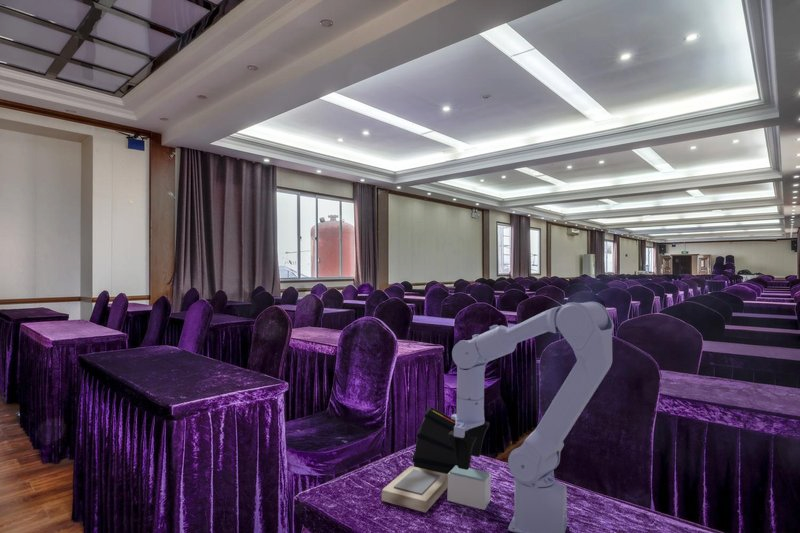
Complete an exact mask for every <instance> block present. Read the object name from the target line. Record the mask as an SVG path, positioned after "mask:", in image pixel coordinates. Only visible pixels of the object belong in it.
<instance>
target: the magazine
mask: <svg viewBox="0 0 800 533" xmlns="http://www.w3.org/2000/svg"><path fill="white" fill-rule="evenodd" d="M422 419H423V420H422V421H421V425H420V428H418V429H417V435H416V437H417V439H416V443H415V449H414V451H413V455H412V462H413V467H418V468H422V469H427V470H431V471H436V472H440V473H445V474H448V473H449V472H450V471H451V470H452V469H453V468H454V467H455V466H456V465H457V460H456V455H455V451H454V448H453V445H452V443H451V441H450V439H449V437H448V433H449V432H450V431H454V426H455V425H456V423H455V420H452V419H451V416H449V415H447V414H445V413H443V412H441V411H439V410H437V409H435V408H434V407H432V406H429V407H428V409H426V410H425V412H424V418H422ZM457 466H458V465H457Z"/></svg>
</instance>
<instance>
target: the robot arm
mask: <svg viewBox="0 0 800 533" xmlns="http://www.w3.org/2000/svg"><path fill="white" fill-rule="evenodd" d="M614 328H615V324H614V322H613V320H612V318H611V315H610V313H609V311H608V309H607V308H606V307H605V306H604V305H603V304H601V303H600V302H597V301H587V302H586V301H585V302H567V303H566V304H563V305H562V306H561V305H560V306H556V307H552V308H550V309H547V310H545V311H542V312H540V313H538V314H536V315H534V316H532V317H530V318H528V319H526V320H524V321H522V322H520V323H517V324H516V325H513V326H512V327H509V326H506V325H501V324H500V325H498V324H493V325H491V326H489V330H487V331H485V332H483V333H481V334H479V333H476V334H473V335H472V336H471V337H472V338H471V339H468V340H465V339H462V340H459V341H458V342H457V343H455V345H453V348H452V351H451V357H452V360H453V363H454V364H455V365H456V366H457V367H456V370H457V371H456V413H452V414H451V415H450V417H451V419H452V420H455V423H456V425H455V426H454V431H450V432H449V433H448V437H449V439H450V441H451V443H452V445H453V448H454V451H455V455H456V460H457V465H458V468H460V469H465V470H468V469H469V468H470V465H471V461H472V459H471V458H472V457H477V458H479V457H480V455H481V454H482V448H483V443H484V439H485V435H486V432H487V431H488V429H489V427H490V422H489V421H487V420H486V419H485V409H484V408H485V372H486V366H487V365H488V363H489V362H491V361H494V360H496V359H498V358H501V357H504V356H506V355H509V354H511V353H514V351H516V350H515V349H516V348H517V344H518V343H522V342H523V341H526V340H529V339H532V338H534V337H537V336H540V335H543V334H545V333H553V334H561V335H562V337H563V338H564V339H565V340H566V342H567V343H568V344H569V346H570V348H572V350H573V353H574V355H575V358H576V362H575V364H574V365H573V367H572V369H571V371H569V374H568V375H567V377H566V379H564V382H563V384H562V385H561V387H560V388H559V390H558V391H557V393H556V395H555V396H554V398H553V399H552V401H551V403H550V405H549V407H547V410H546V411H545V413H544V415H543V416H542V417H541V419H540V422H539V423H538V425H537V426H536V428H535V429H534V430H533V431H532V432H531V433H530V434H529V435H527V437H526V438H525V439H524V441H523V442H522V444H521V445H520V446H519V447H516V448H514V449H512V450H511V452H510V453H509V455H508V459H507V463H508V465H507V466H508V468H509V471H510V474H511V475H512V477H513V479H514V496H513V497H514V498H513V499H514V500H513V501H514V502H513V504H514V506H513V507H514V508H513V512H514V514H513V517H512V519H511V521H510V523H509V525H508V527H507V529H508V531H510V532H513V533H566V530H567V528H568V516H567V512H568V511H567V510H568V508H567V507H568V505H567V504H568V488H567V485H566V484H563V483H560V482H558V481H557V480H555V474H554V473H555V472H554V470H555V469H557V467H558V466H559V464H560V461H561V452H562V450H563V448H564V446H565V443H564V440H565V439H566V438H567V436H568V434H569V433H570V431H571V430H572V428H573V426H574V425H575V424H576V421H578V419H579V417H580V416H581V414H582V412H583V411H584V409H585V407H587V404H588V403H589V402H590V400H591V398H592V397H593V396H594V394H595V392H596V390H598V388H599V387H600V386H599V385H600V384H601V383H602V381H603V380H604V378H605V376H606V375H607V374H608V372H609V370H610V368H611V366H612V364H613V332H614Z"/></svg>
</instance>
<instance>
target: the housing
mask: <svg viewBox="0 0 800 533" xmlns="http://www.w3.org/2000/svg"><path fill="white" fill-rule="evenodd" d="M491 483H492V474H491V473H490V472H489V471H485V470H481V469H480V470H479V469H474V468H470V467H469V469H468V470H465V469H460V468H458V466H457V465H456V466H455V467H454V468H453V469H452V470H451V471H450V472H449V473H448V488H447V492H446V494H447V497H446V498H447V499H446V500H447V502H452V503H456V504H460V505H463V506H469V507H471V508H476V509H479V510H486V509H487V507H488V505H489V503H490V502H491V492H492V491H491V488H492V486H491Z"/></svg>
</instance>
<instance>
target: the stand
mask: <svg viewBox="0 0 800 533" xmlns="http://www.w3.org/2000/svg"><path fill="white" fill-rule="evenodd" d="M446 490H448V474H445V473H440V472H436V471H431V470H427V469H422V468H418V467H414V465H413V466H412V465H410V466H409V467H407V468H406V469H405V470H404V471H402V472H401V473H400V474H399V475H398V476H397V477H395V478H394V479H393V480H392V481H390V483H388V484H387V485H386V486H385V487H383V488H382V489H381V502H386V503H390V504H391V505H397V506H400V507H403V508H408V509H411V510H414V511H418V512H422V513H427V512H428V511H429V509H430V508H431V507H432V506H433V505H434V504H435V503H436V501H437V500H439V498H440V497H441V496H442V495H443V494H444V493H445V492H446Z"/></svg>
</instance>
